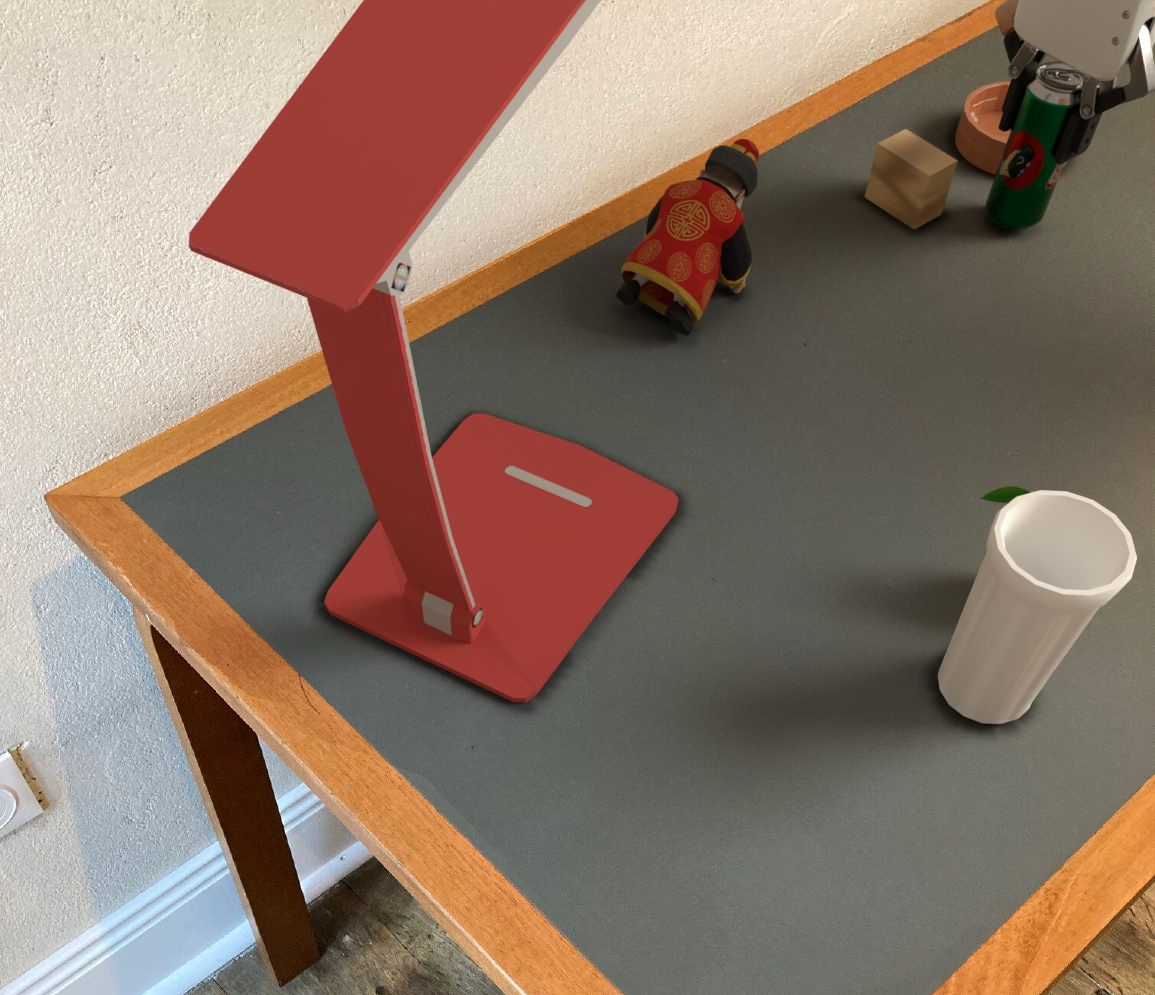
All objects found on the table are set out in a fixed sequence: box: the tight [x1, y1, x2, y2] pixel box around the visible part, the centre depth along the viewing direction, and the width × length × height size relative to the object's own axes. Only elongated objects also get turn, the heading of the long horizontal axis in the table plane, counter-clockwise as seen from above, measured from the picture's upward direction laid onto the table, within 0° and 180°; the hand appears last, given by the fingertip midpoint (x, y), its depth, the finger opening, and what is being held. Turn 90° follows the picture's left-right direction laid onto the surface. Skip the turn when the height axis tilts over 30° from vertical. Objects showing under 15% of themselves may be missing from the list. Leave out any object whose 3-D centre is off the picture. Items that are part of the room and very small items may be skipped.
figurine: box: [615, 138, 760, 336], centre depth 94 cm, size 10×10×15 cm
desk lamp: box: [188, 0, 679, 703], centre depth 67 cm, size 18×38×40 cm, turn 151°
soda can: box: [985, 60, 1084, 230], centre depth 97 cm, size 5×5×12 cm
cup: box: [937, 489, 1138, 725], centre depth 71 cm, size 8×8×14 cm
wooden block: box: [864, 128, 959, 231], centre depth 102 cm, size 6×4×5 cm, turn 39°
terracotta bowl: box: [954, 81, 1068, 175], centre depth 108 cm, size 11×11×3 cm
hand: (1040, 138), depth 97 cm, fingers closed on soda can, 5 cm apart
